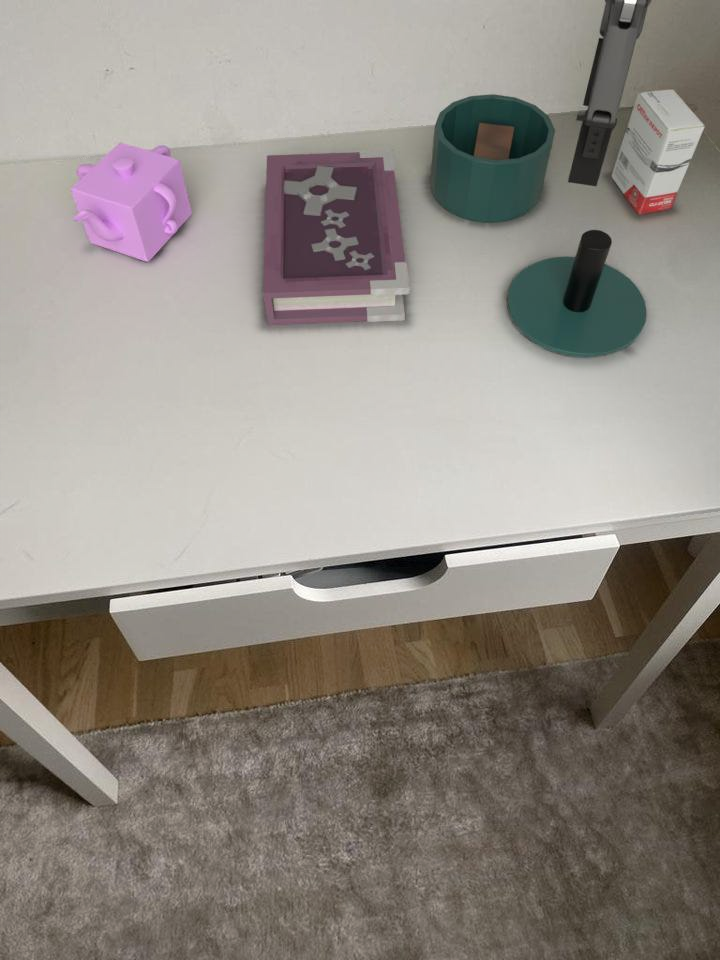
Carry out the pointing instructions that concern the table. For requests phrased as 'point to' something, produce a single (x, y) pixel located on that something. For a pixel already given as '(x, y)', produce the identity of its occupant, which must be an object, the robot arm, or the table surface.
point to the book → (333, 239)
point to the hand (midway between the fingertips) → (589, 142)
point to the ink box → (656, 150)
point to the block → (493, 141)
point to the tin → (484, 182)
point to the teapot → (132, 200)
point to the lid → (578, 302)
